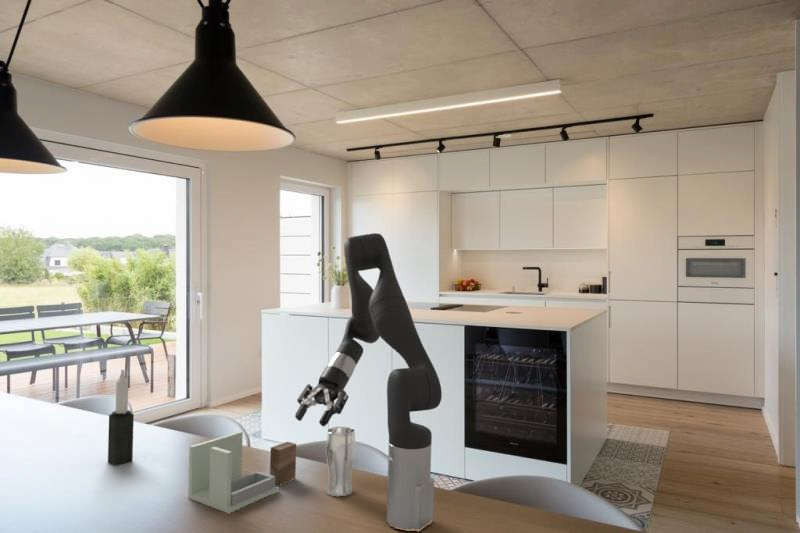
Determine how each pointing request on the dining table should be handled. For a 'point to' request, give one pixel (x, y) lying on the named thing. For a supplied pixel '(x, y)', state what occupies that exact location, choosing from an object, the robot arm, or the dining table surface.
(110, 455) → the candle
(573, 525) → the dining table surface
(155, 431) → the dining table surface
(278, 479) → the brown wooden block
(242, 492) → the sage green display stand
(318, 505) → the dining table surface
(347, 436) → the beer glass
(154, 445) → the dining table surface
